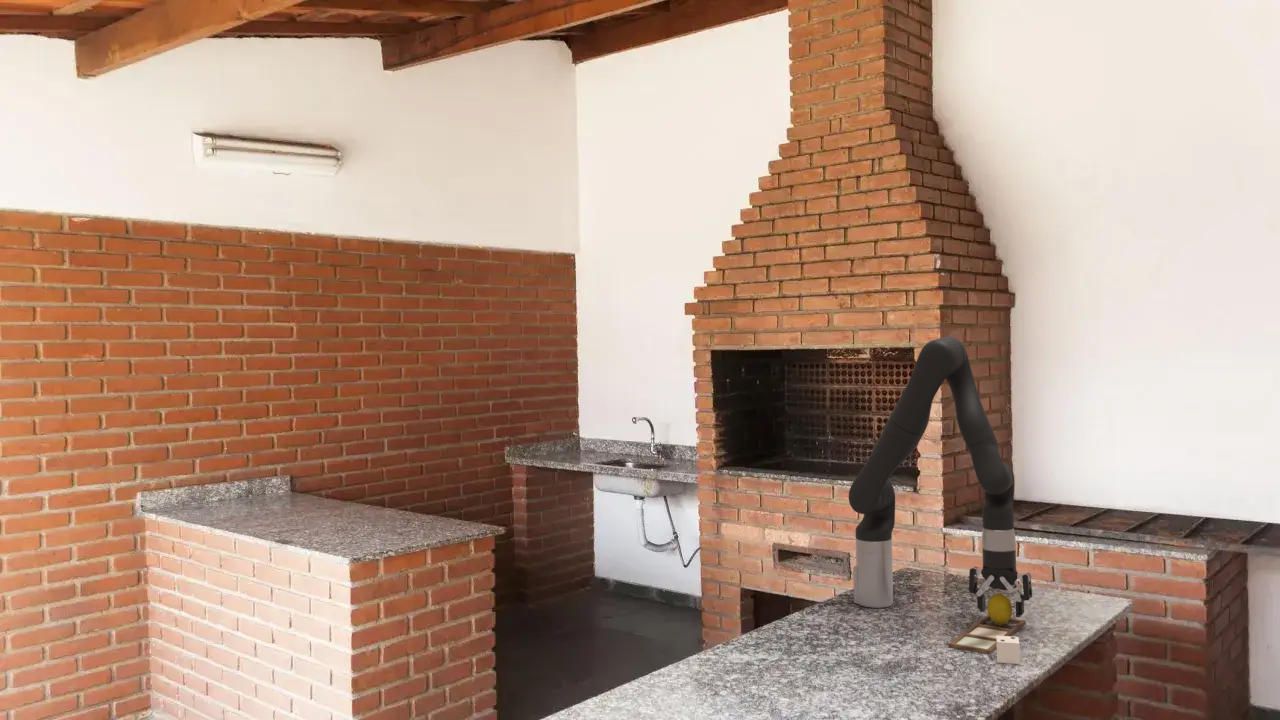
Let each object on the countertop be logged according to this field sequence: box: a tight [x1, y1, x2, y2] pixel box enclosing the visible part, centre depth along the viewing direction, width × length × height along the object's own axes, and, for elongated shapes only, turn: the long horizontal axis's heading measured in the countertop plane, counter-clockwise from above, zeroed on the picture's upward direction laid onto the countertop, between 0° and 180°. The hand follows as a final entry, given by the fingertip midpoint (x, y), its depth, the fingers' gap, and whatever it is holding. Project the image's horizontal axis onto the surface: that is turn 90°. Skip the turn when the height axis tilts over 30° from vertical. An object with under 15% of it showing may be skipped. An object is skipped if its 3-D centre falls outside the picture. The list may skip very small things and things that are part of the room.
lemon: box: [987, 592, 1013, 627], centre depth 238 cm, size 6×6×8 cm
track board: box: [948, 614, 1027, 655], centre depth 231 cm, size 9×26×1 cm, turn 142°
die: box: [996, 635, 1021, 665], centre depth 214 cm, size 4×4×5 cm
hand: (1000, 613), depth 237 cm, fingers open, 8 cm apart
